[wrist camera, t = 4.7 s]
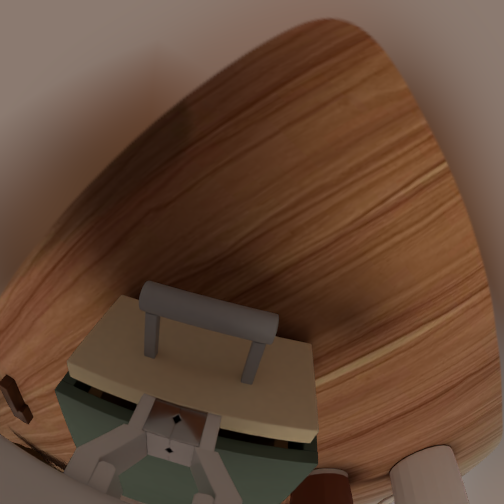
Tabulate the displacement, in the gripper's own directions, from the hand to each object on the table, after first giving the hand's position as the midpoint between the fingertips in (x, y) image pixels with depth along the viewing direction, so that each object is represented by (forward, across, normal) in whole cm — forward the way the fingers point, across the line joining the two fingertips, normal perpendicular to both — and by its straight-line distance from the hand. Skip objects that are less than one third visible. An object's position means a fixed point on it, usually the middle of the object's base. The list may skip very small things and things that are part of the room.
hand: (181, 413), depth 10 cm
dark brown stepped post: (+9, +24, +25) cm, 36 cm away
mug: (+10, -25, +19) cm, 33 cm away
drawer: (+8, 0, +6) cm, 10 cm away
